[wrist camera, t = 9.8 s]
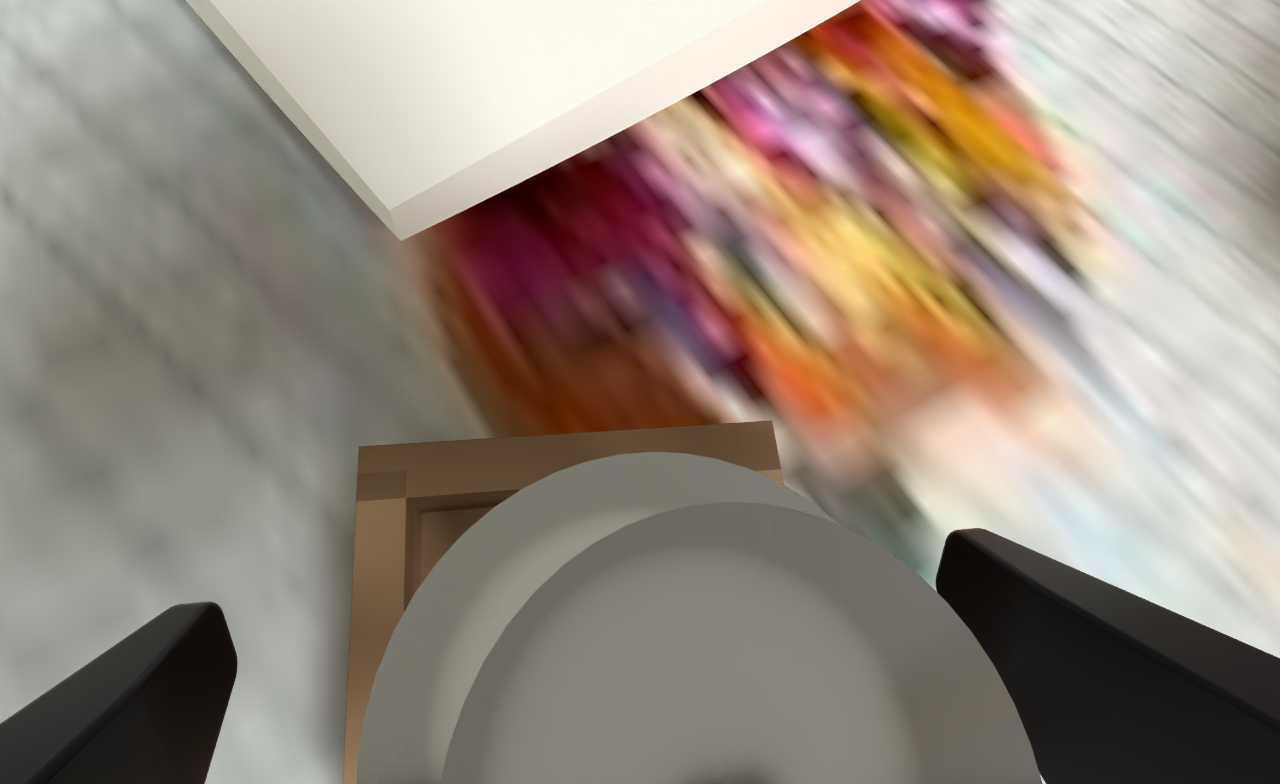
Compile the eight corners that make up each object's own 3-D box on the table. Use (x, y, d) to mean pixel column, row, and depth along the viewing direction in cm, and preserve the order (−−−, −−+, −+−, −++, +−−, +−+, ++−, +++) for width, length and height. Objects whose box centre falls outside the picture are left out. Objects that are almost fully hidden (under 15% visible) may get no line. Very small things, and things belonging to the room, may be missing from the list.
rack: (814, 867, 15) (882, 926, 12) (365, 949, 13) (310, 1042, 10) (745, 455, 18) (783, 419, 15) (381, 482, 17) (344, 447, 14)
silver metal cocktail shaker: (627, 810, 14) (1200, 2155, 2) (460, 715, 14) (-182, 1228, 2) (706, 627, 15) (1300, 578, 3) (555, 545, 15) (555, 200, 3)
